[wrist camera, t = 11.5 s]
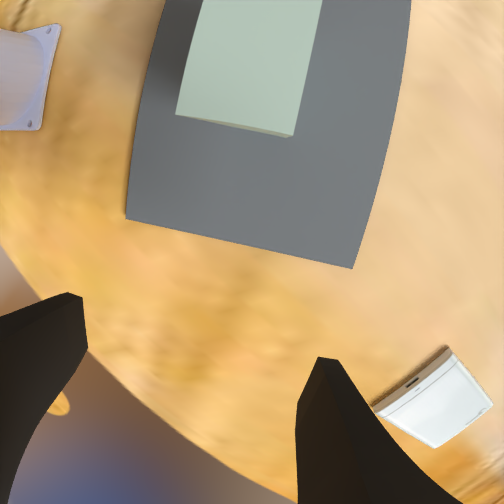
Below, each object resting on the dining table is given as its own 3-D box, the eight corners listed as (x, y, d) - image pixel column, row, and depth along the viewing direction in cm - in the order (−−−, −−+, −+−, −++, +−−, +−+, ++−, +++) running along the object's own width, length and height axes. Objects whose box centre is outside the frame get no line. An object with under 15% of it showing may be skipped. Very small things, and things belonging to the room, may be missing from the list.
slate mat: (128, 217, 18) (125, 218, 18) (185, -46, 12) (184, -49, 11) (351, 266, 18) (352, 269, 18) (409, -5, 12) (411, -8, 11)
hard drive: (494, 404, 21) (454, 355, 19) (433, 450, 23) (374, 416, 21) (488, 394, 22) (446, 342, 20) (429, 439, 25) (371, 402, 23)
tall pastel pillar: (230, 126, 15) (175, 114, 7) (253, 26, 13) (226, -65, 5) (286, 138, 15) (293, 135, 7) (308, 37, 13) (332, -51, 5)
